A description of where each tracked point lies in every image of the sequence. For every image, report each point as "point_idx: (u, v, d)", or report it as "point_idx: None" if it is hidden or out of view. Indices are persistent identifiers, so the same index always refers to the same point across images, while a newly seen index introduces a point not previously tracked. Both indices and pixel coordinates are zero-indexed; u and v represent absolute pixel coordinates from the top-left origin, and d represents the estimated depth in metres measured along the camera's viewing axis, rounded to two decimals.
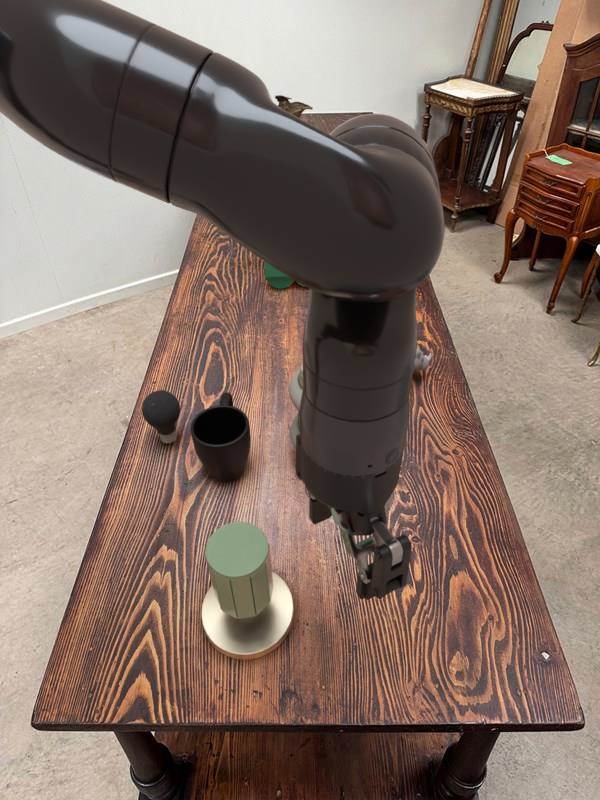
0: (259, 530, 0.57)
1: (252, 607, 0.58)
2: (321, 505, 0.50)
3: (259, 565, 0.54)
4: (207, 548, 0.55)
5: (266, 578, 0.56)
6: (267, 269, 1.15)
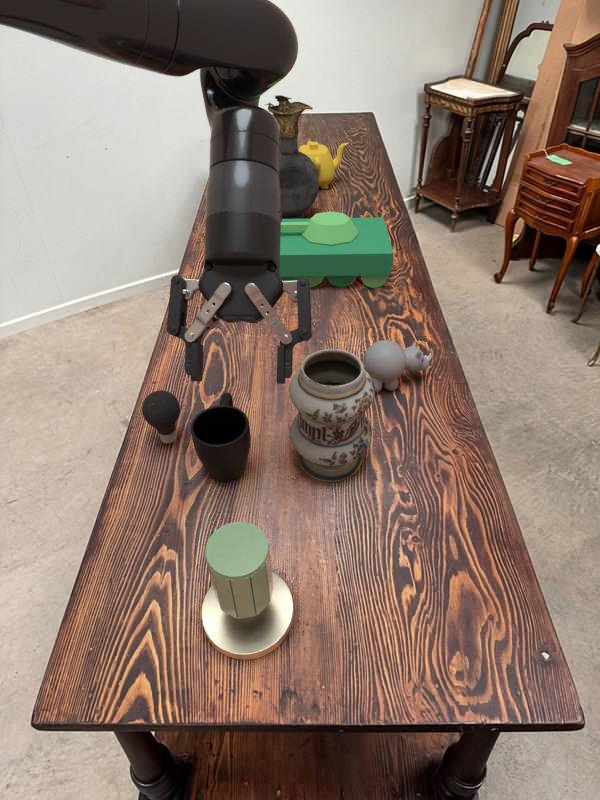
0: (259, 530, 0.57)
1: (252, 607, 0.58)
2: (200, 354, 0.54)
3: (259, 565, 0.54)
4: (207, 548, 0.55)
5: (266, 578, 0.56)
6: None
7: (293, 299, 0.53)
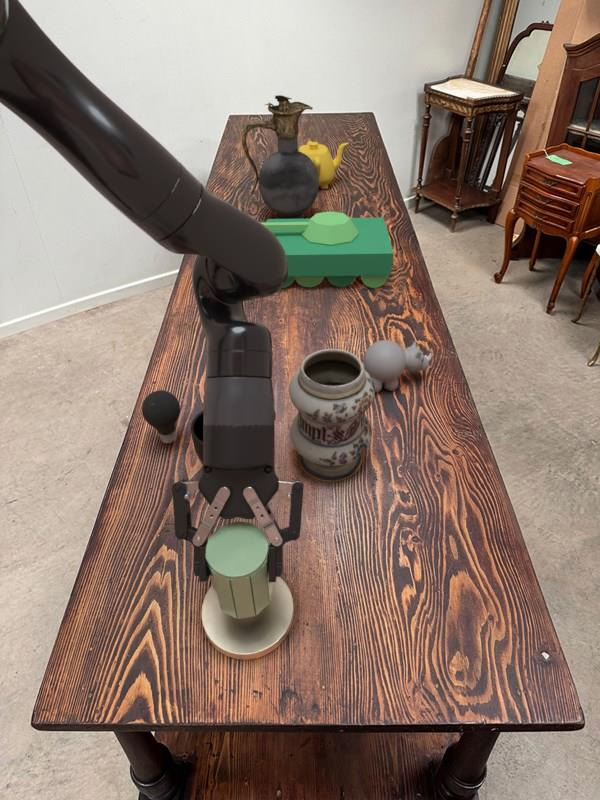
0: (259, 530, 0.57)
1: (252, 607, 0.58)
2: None
3: (259, 565, 0.54)
4: (207, 548, 0.55)
5: (266, 578, 0.56)
6: None
7: (286, 499, 0.56)
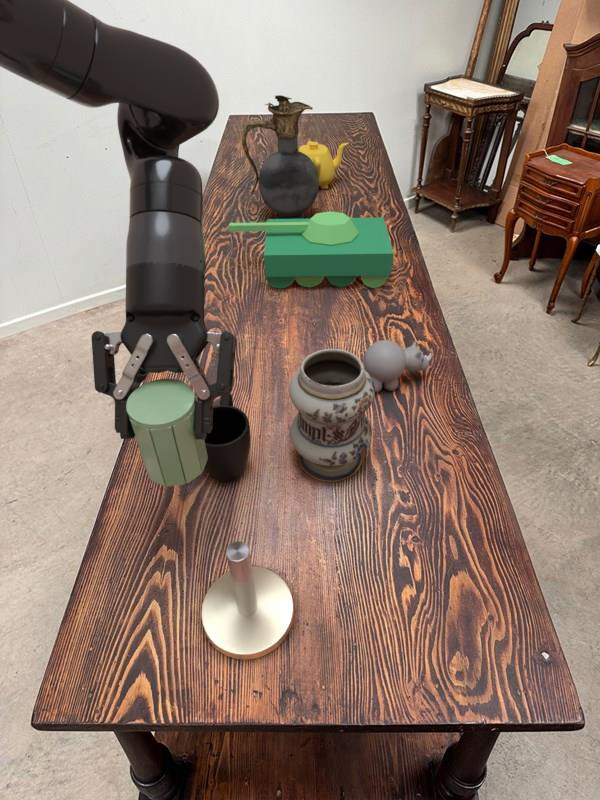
0: (187, 386, 0.53)
1: (180, 471, 0.54)
2: None
3: (182, 415, 0.50)
4: (128, 400, 0.51)
5: (193, 436, 0.52)
6: (267, 269, 1.15)
7: (216, 352, 0.52)
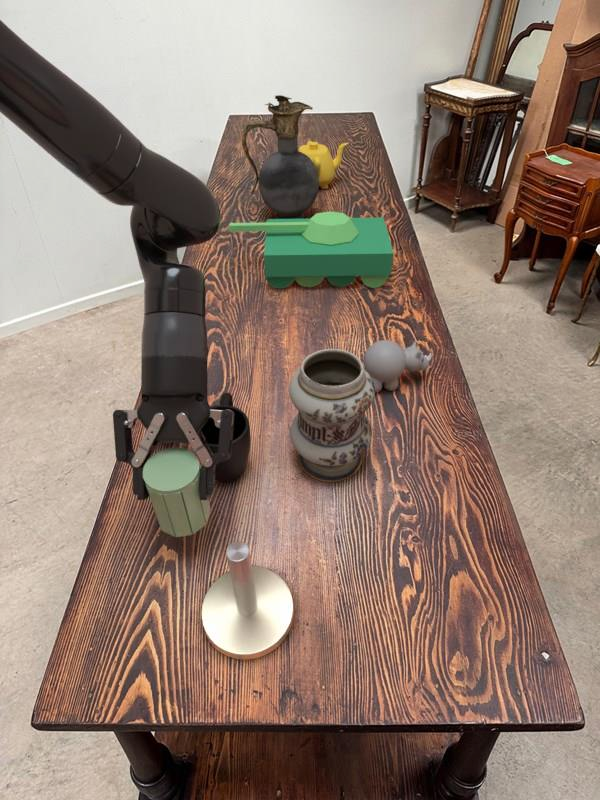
0: (193, 454, 0.63)
1: (187, 525, 0.64)
2: None
3: (190, 482, 0.60)
4: (144, 468, 0.61)
5: (199, 497, 0.62)
6: (267, 269, 1.15)
7: (217, 426, 0.62)
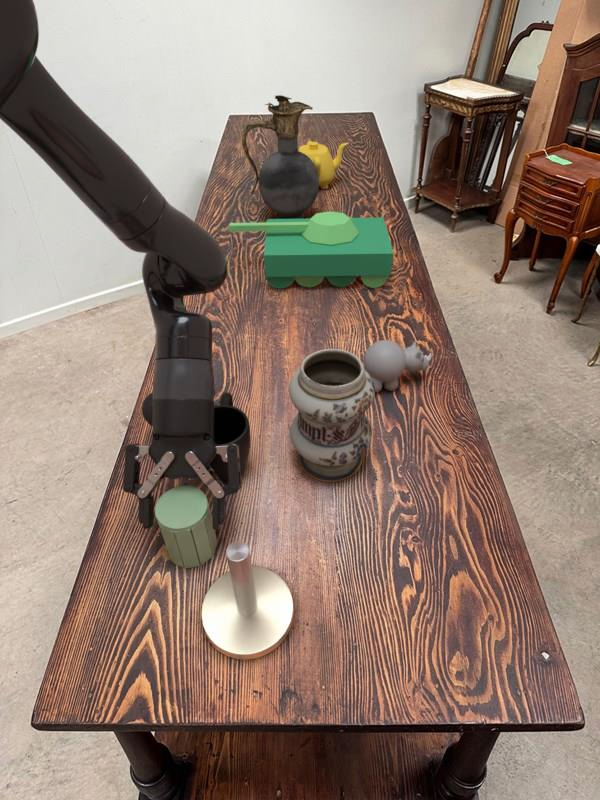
0: (201, 492, 0.67)
1: (196, 557, 0.68)
2: (151, 506, 0.67)
3: (199, 520, 0.64)
4: (156, 506, 0.66)
5: (206, 532, 0.67)
6: (267, 269, 1.15)
7: (225, 460, 0.67)
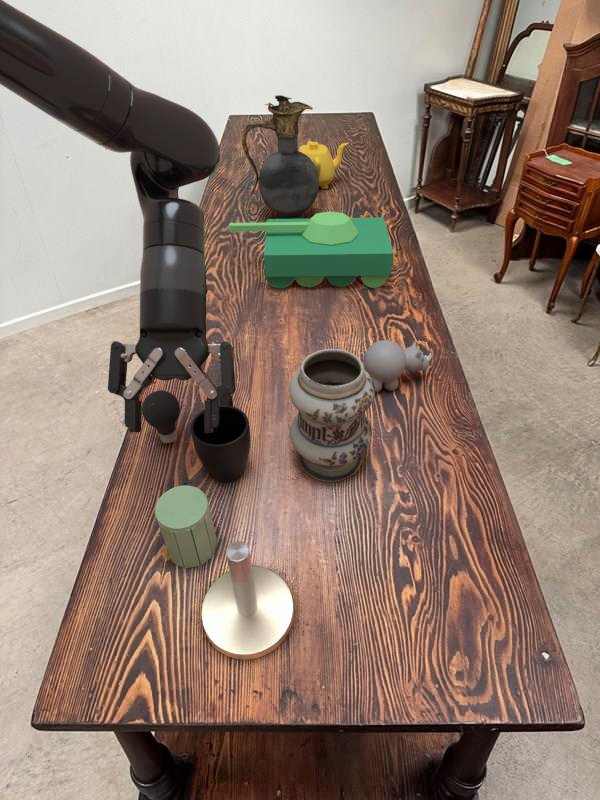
0: (201, 492, 0.67)
1: (196, 557, 0.68)
2: (138, 409, 0.62)
3: (199, 520, 0.64)
4: (156, 506, 0.66)
5: (206, 532, 0.67)
6: (267, 269, 1.15)
7: (217, 360, 0.62)
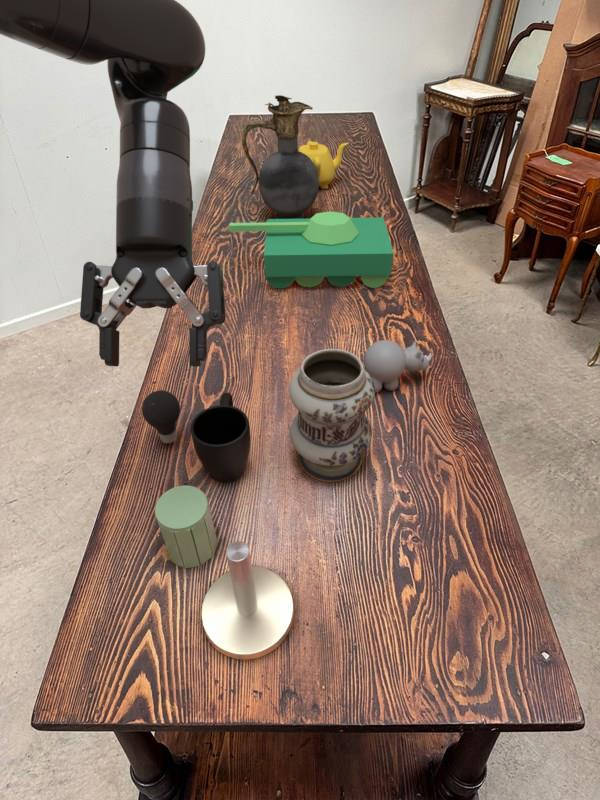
0: (201, 492, 0.67)
1: (196, 557, 0.68)
2: (114, 339, 0.55)
3: (199, 520, 0.64)
4: (156, 506, 0.66)
5: (206, 532, 0.67)
6: (267, 269, 1.15)
7: (204, 283, 0.55)
